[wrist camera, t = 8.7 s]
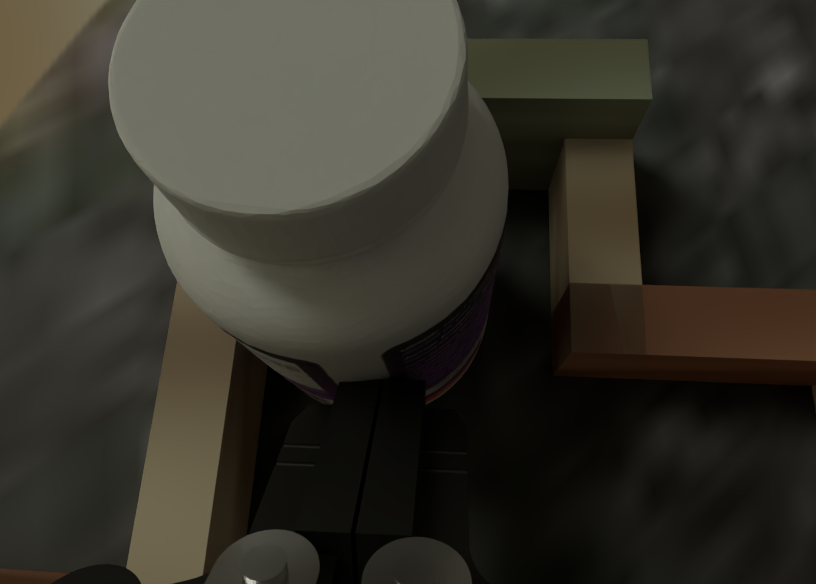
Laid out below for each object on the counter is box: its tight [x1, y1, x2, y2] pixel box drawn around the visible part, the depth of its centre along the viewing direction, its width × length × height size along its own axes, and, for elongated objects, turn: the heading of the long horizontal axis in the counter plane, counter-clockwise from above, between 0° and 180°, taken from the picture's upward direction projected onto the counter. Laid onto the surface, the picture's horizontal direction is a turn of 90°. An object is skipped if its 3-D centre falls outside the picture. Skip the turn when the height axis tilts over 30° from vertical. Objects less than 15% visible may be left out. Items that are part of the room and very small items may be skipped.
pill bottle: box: [108, 0, 509, 405], centre depth 11 cm, size 5×5×10 cm
